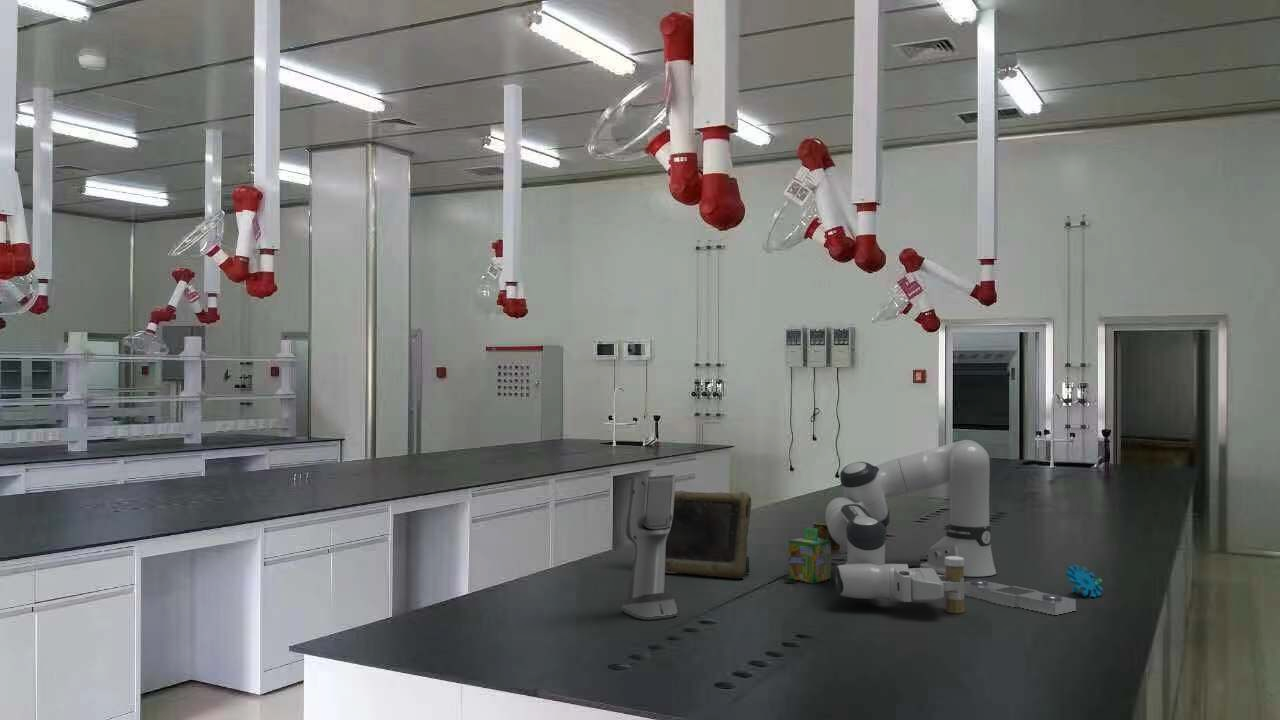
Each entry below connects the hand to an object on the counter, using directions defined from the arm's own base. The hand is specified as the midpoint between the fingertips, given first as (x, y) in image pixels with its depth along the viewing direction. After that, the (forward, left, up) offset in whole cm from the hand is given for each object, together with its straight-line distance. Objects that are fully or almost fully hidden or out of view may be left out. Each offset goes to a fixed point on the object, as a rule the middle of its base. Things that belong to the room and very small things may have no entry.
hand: (958, 583), depth 242 cm
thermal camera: (-43, -64, -7) cm, 77 cm away
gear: (+7, +42, -7) cm, 43 cm away
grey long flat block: (+1, +19, -7) cm, 21 cm away
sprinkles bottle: (-1, -1, -7) cm, 7 cm away
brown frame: (-77, -25, -7) cm, 81 cm away
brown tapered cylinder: (-80, +29, -7) cm, 85 cm away
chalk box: (-51, -4, -7) cm, 51 cm away
